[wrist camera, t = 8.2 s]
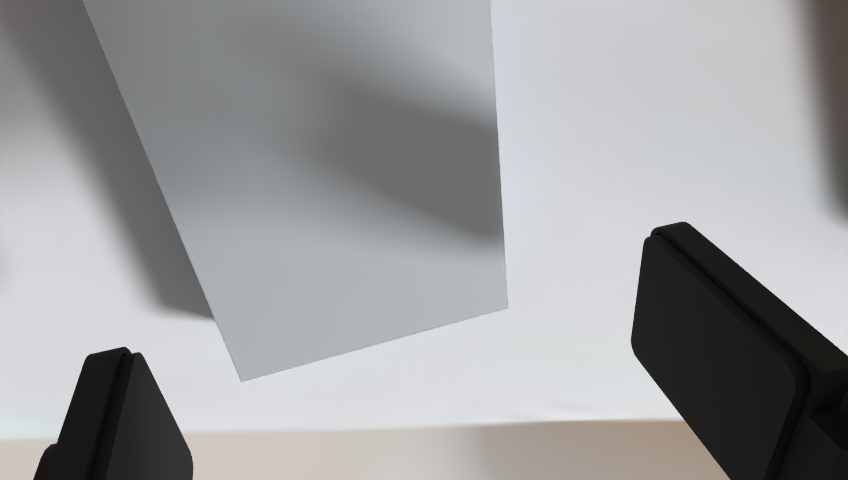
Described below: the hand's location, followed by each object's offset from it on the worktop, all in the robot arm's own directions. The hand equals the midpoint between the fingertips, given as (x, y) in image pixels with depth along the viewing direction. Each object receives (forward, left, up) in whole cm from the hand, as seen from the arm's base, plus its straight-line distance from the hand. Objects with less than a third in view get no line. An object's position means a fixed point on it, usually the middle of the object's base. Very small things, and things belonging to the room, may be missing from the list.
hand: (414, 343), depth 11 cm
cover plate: (+1, -4, -5) cm, 6 cm away
